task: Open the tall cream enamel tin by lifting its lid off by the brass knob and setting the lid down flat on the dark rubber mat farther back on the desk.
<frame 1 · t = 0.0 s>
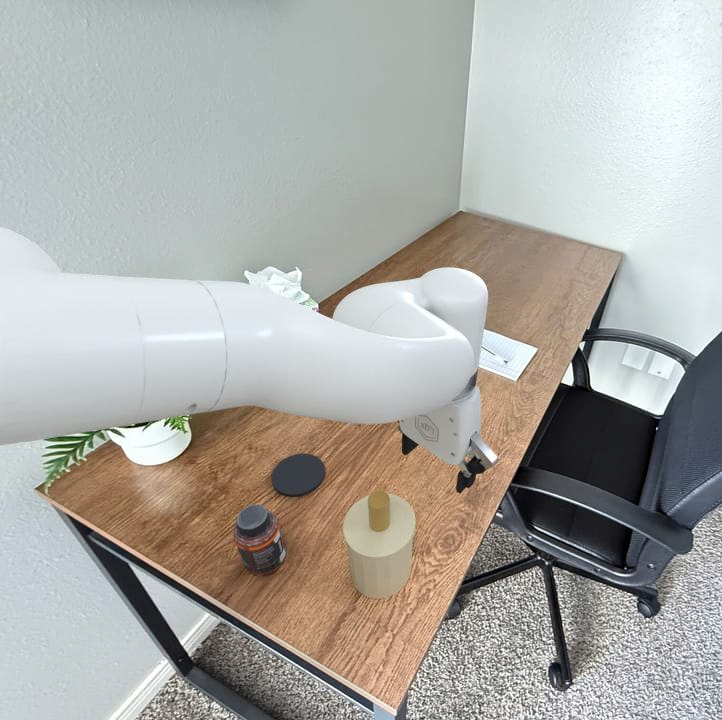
hand: (437, 466, 64), 19 cm above the table, tool pointing down, fingers open, 9 cm apart
tin: (381, 569, 72), on the table
supplement bottle: (266, 558, 71), on the table
tin lid: (379, 525, 64), point 12 cm above the table, touching tin
mat: (299, 475, 83), on the table
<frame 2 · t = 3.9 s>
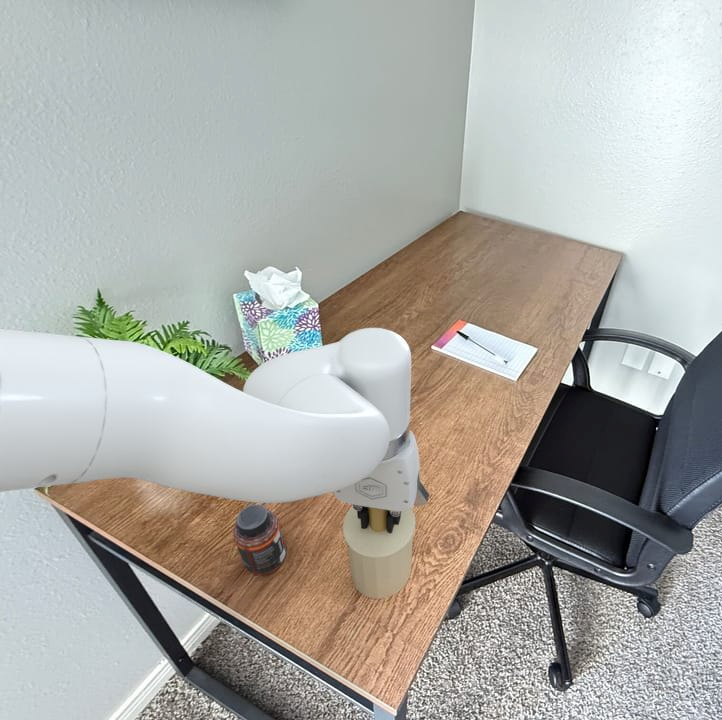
hand: (379, 520, 64), 13 cm above the table, tool pointing down, fingers closed on tin lid, 2 cm apart
tin lid: (379, 525, 64), point 12 cm above the table, touching gripper, tin
everything else where it was.
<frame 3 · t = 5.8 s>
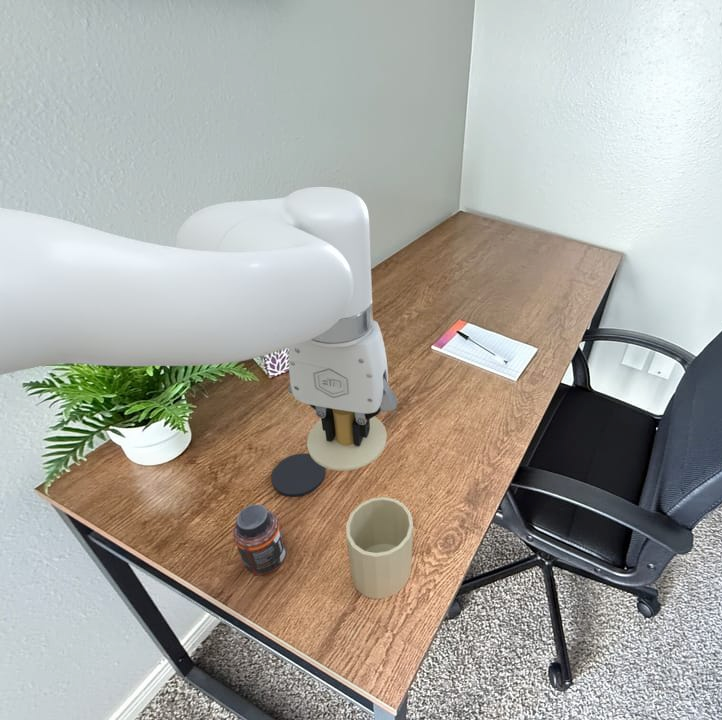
hand: (347, 434, 59), 26 cm above the table, tool pointing down, fingers closed on tin lid, 2 cm apart
tin lid: (347, 440, 60), point 25 cm above the table, touching gripper
everything else where it was.
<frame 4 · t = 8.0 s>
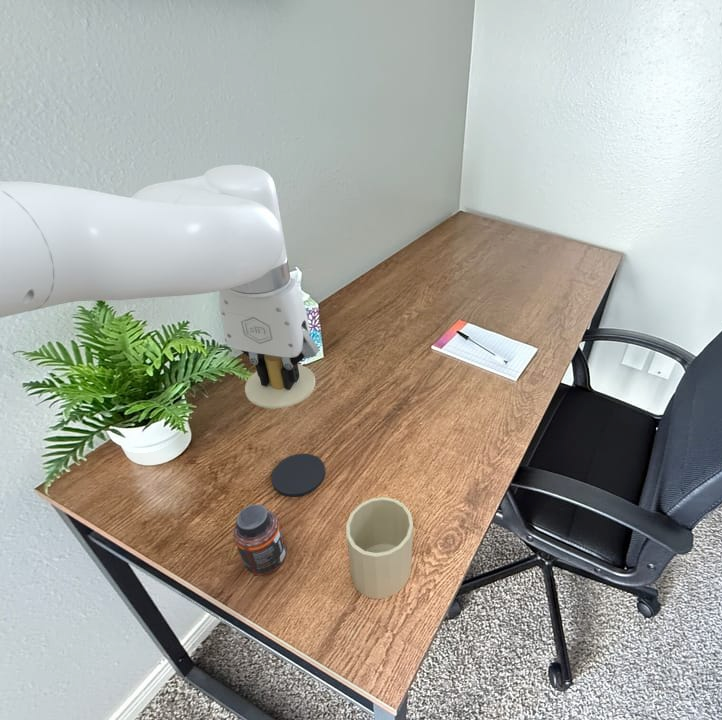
hand: (280, 380, 69), 23 cm above the table, tool pointing down, fingers closed on tin lid, 2 cm apart
tin lid: (281, 385, 70), point 22 cm above the table, touching gripper
everything else where it was.
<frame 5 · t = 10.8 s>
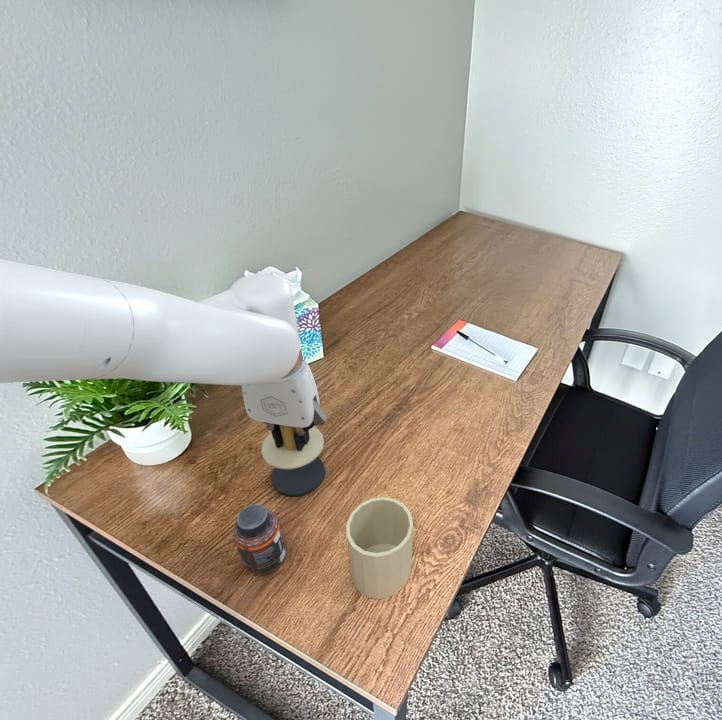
hand: (292, 442, 78), 9 cm above the table, tool pointing down, fingers closed on tin lid, 2 cm apart
tin lid: (293, 446, 79), point 8 cm above the table, touching gripper
everything else where it was.
when the fingers open (2 cm above the table, at t = 12.4 s): tin lid stays where it is, resting on mat.
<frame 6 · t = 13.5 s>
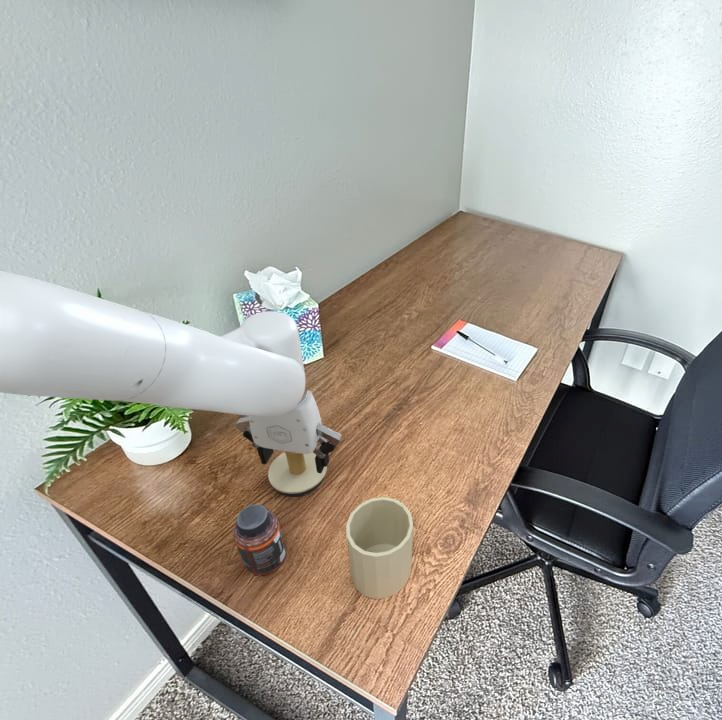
hand: (295, 462, 81), 4 cm above the table, tool pointing down, fingers open, 9 cm apart
tin lid: (298, 470, 83), point 1 cm above the table, touching mat
everything else where it was.
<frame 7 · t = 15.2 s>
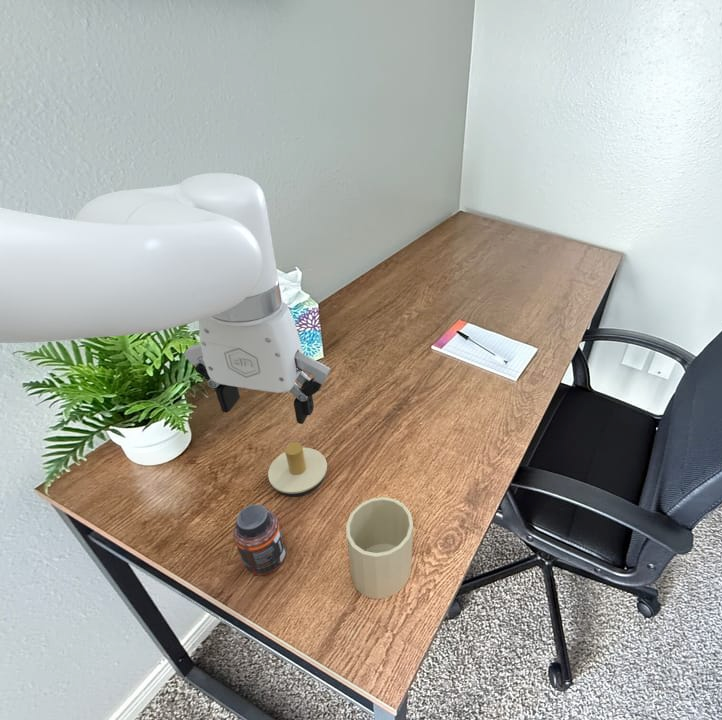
hand: (268, 410, 60), 26 cm above the table, tool pointing down, fingers open, 9 cm apart
nothing on the table moved.
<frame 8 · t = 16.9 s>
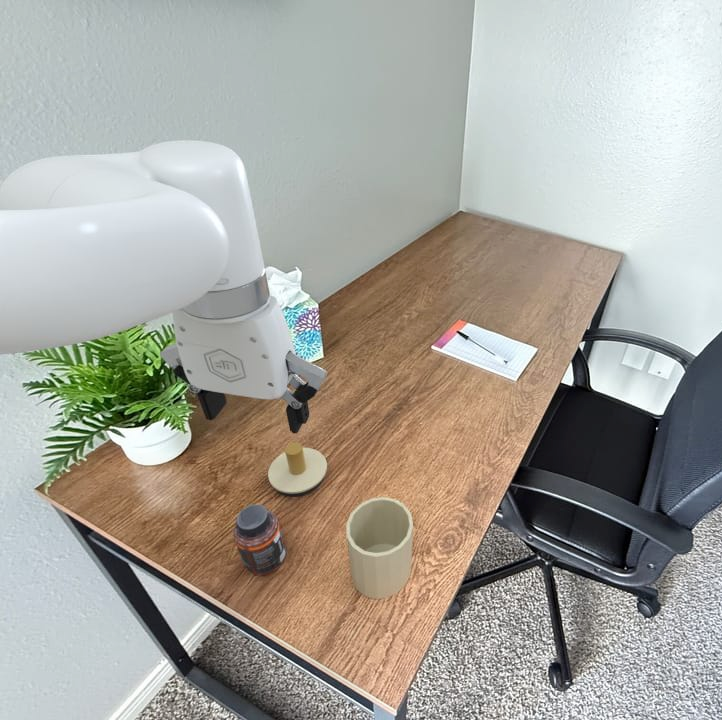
hand: (258, 417, 53), 30 cm above the table, tool pointing down, fingers open, 9 cm apart
nothing on the table moved.
at the end: tin lid 0.1 cm off-centre on the mat, point 1.4 cm above the mat's base; tin lid tilted 0° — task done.
